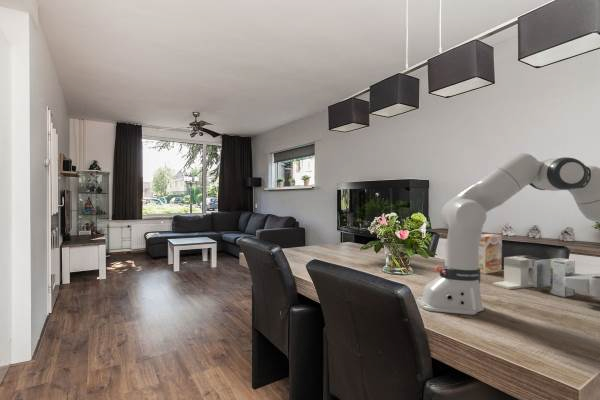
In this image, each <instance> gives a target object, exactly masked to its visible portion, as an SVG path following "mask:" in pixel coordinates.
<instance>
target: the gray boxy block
mask: <svg viewBox="0 0 600 400" xmlns="http://www.w3.org/2000/svg"><path fill="white" fill-rule="evenodd" d="M524 256H525V258H529V259H535V260H534V270H533V269H529V273H534V286H533V287H534V288H545V287H550V278H551V259H552V258H547V259H543V258H540V257H535V256H534V255H524ZM533 257H534V258H533Z"/></svg>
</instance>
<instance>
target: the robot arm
mask: <svg viewBox="0 0 600 400" xmlns="http://www.w3.org/2000/svg"><path fill="white" fill-rule="evenodd" d="M528 185H529V186H530V187H532V188H533V189H536V190H539V191H552V192H557V191H568V192H569V193H570V195H571V196H572V197H573V199H574V202H575V203H576V206H577V208H578V209H579V212H580V213H581V214H582V215H583V216H584V218H586V219H588V220H590V221H592V222H594V223H595V222H596V223H600V167H598V166H594V165H585V163H584V162H582V161H581V160H578V159H576V158H573V157H569V156H568V157H564V156H563V157H560V158H549V159H544V160H541V161H539V160H538V159H537V158H536V156H533V155H531V154H529V153H523V152H522V153H518V154H516V155H514V156H512V157H510V158H509V159H507V160H505V161H504V162H502V163H500V164H499V165H498V166H496V167H495V168H494V169H492V170H491V171H490V172H489V173H487V174H486V175H485V176H483V177H482V178H481V179H480V180H478V181H477V182H476V183H474V184H472V185H470V186H469V187H468V188H466V189H465V190H463V191H461V192H460V193H459V194H457V195H456V196H454V197H453V198H451V199H450V200H449V201H447V202H446V203H445V204H444V205H443V206H442V208H441V217H442V220H443V221H444V223H445V224H446V225H448V230H447V237H446V242H445V243H444V247H445V248H444V259H445V260H444V265H443V266H440V265H436V266H435V271H436V272H439V276H437V277H436V278H434V279H433V280H431V281H429V282H428V283H427V284H425V285H424V287H423V291H422V295H421V296H418V297H417V298H416V303H417V305H418V306H419V307H420V308H422V309H424V310H425V311H427V312H429V311H430V312H439V313H449V314H450V313H451V314H458V315H459V314H460V315H469V316H470V315H471V316H473V315H476V314H477V313H478V312H479V313H480V312H482V311H484V310H485V307H484V304H483V301H482V296H481V294H482V293H481V289H480V284H481V278H482V277H481V273H480V269H479V244H480V239H481V235H483V234H482V233H483V227H484V224H485V222H486V220H487V213H488V212H490V211H491V210H494V209H495V208H498V207H500V206H502V205H503V204H504V203H506V202H507V201H508V200H510V199H511V198H512V197H513V196H514V195H516V194H518V193H519V192H520V191H522V190H523V189H524V188H525V187H526V186H528ZM558 280H560V281H564V285H565V286H566V287H568V288H571V289H574V291H578V292H582V293H585V294H586V293H587V294H589V296H591V297H600V273H589V274H582V273H581V274H580V273H575V276H570V277H565V276H558Z"/></svg>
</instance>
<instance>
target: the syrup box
mask: <svg viewBox="0 0 600 400" xmlns="http://www.w3.org/2000/svg"><path fill="white" fill-rule="evenodd" d="M550 259H551V278H550V286H549V288H550V290H549V294H551V295H554V296H559V297H563V298H568V297H569V298H571V297H575V290H574V289H571V288H568V287H566V286H565V285H564V281H560V280H558V276H565V277H570V276H575V274H576V261H575V260H573V259H570V258H569V259H568V258H563V257H562V258H561V257H560V258H559V257H558V258H550Z"/></svg>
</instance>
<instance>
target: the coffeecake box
mask: <svg viewBox="0 0 600 400" xmlns="http://www.w3.org/2000/svg"><path fill="white" fill-rule="evenodd" d="M502 252H503V235H502V234H494V233H487V234H486V233H485V234H481V239H480V244H479V269H480V274H484V275H487V274H492V273H497V272H502V270H503V267H502V263H503V262H502V258H503V256H502V255H503V253H502Z"/></svg>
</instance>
